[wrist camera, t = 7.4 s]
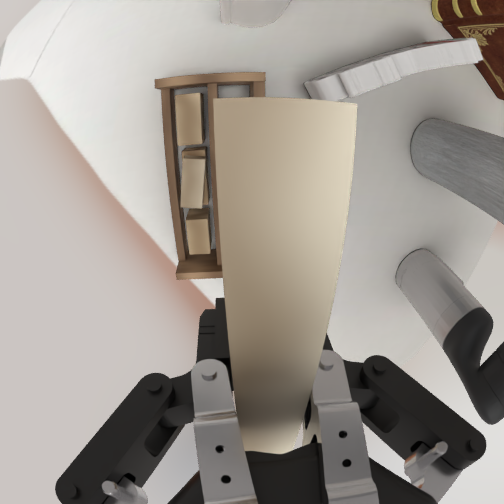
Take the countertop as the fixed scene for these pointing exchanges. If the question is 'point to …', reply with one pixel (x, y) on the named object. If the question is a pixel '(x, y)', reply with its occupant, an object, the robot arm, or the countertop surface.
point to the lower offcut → (203, 152)
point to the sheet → (280, 250)
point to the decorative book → (478, 33)
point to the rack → (210, 263)
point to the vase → (462, 162)
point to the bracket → (251, 12)
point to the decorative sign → (392, 68)
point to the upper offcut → (193, 181)
